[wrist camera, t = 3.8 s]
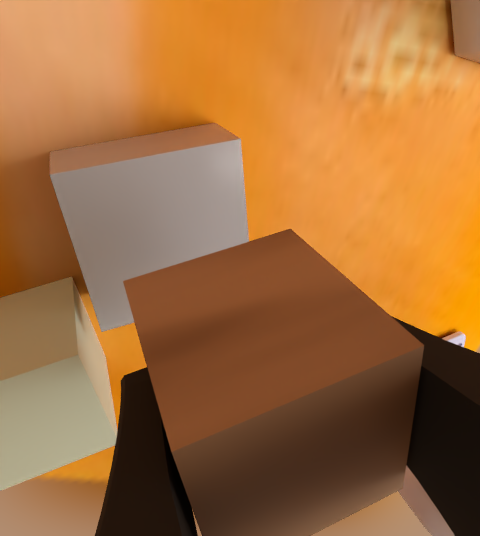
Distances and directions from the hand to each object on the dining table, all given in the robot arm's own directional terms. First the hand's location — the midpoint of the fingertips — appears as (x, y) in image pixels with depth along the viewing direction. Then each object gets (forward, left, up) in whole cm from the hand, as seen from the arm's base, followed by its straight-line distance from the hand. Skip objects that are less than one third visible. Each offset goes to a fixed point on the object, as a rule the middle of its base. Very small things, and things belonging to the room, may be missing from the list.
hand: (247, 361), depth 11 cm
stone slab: (+1, 0, -9) cm, 9 cm away
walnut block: (0, 0, -2) cm, 2 cm away
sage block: (-3, +6, -9) cm, 11 cm away
